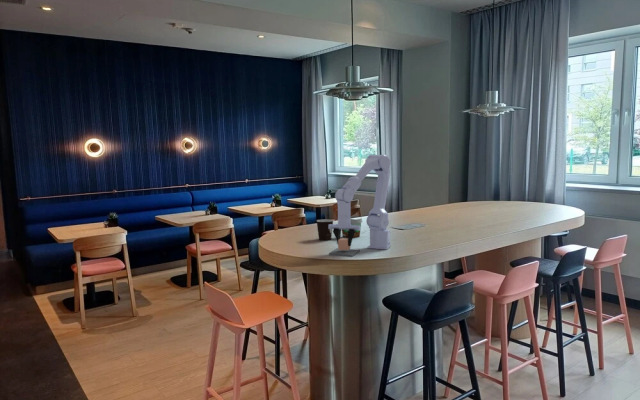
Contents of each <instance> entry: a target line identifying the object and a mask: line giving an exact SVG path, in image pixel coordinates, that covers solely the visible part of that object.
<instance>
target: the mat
mask: <svg viewBox="0 0 640 400" xmlns="http://www.w3.org/2000/svg"><path fill="white" fill-rule="evenodd" d="M360 252H361V250H360V249H355V248H354V249H353V248H350V249H349V250H338V247H337V248H334V250H331V251H330V252H329V253H328V255H329V256H339V257H342V256H343V257H354V256H356V255H357V254H359V253H360Z"/></svg>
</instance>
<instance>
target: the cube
mask: <svg viewBox="0 0 640 400" xmlns="http://www.w3.org/2000/svg"><path fill="white" fill-rule="evenodd" d="M337 248H338V250H349V249H351V246H348V238H344V237H341V239H339V240H338V244H337Z"/></svg>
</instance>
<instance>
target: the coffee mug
mask: <svg viewBox="0 0 640 400" xmlns="http://www.w3.org/2000/svg"><path fill="white" fill-rule="evenodd" d="M329 224H334V220H333V219H316V227H317V235H318V241H323V242H324V241H325V242H327V241H331V240H332V235H333V229H329V226H328V225H329Z"/></svg>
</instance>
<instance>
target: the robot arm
mask: <svg viewBox="0 0 640 400" xmlns="http://www.w3.org/2000/svg"><path fill="white" fill-rule="evenodd" d="M390 166H391V159H390V158H389V156H388V155H387V154H369V155H368V156H367V158H366V159H365V160H364V163H363V165H362V167H361V168H360V169H359V171H357V173H356V175H355V176H351V177H349V178H348V180H347V182H346V183H345V184H344V185H342V187H341V188H339V189H338V190H336V193H335V195H334V198H335V200H336V203H337V224H336V223H333V224H329V225H328V226H329V229H332V234H334V237H335V239H336V244H337V245H338V240H339V239H341V238H342V229H344V230H349V231H347V232H348V238H347V239H348V246H350V247H351V246H352V242H353V239H354V238H353V236H354V234H355V232H356V230H358V231H359V230H360V231H361V229H360V226H357V225H351V219H352V218H351V217H352V216H351V215H352V212H351V211H352V209H351V206H352V205H351V202H352V201H353V199H354V195H355V193H356V192H357V190H359V189H360V187H361V185H362V181H363V180H364V179H365V178H366V177H367V176H368V174H370V172H371V171H374V172H375V173H376V175H377V180H376V188H375V194H374V202H373V207H372V209H370V210H369V212H368V215H367V217H366V225H367V226H368V229H369V246H366V247H367V249H375V250H376V249H377V250H388V249H389V248H390V247H391V230H390V229H387V228H388V226H389V224H390V223H389V221H390V220H389V212H387V210H386V204H387V198H388V197H387V196H388V189H389V183H390V176H391V175H390V174H391V169H390V168H391V167H390Z"/></svg>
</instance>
